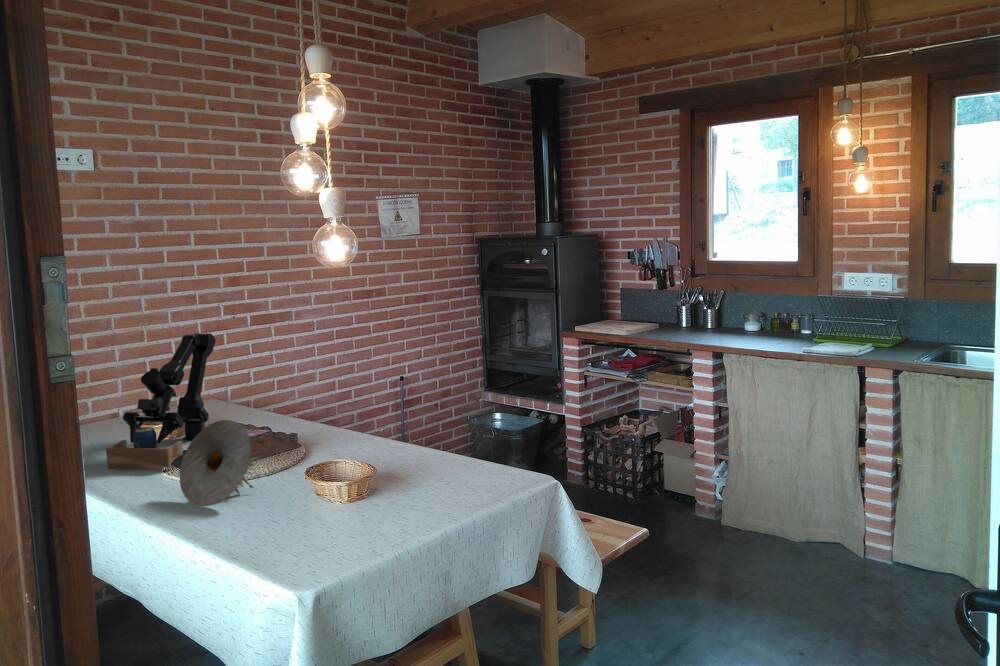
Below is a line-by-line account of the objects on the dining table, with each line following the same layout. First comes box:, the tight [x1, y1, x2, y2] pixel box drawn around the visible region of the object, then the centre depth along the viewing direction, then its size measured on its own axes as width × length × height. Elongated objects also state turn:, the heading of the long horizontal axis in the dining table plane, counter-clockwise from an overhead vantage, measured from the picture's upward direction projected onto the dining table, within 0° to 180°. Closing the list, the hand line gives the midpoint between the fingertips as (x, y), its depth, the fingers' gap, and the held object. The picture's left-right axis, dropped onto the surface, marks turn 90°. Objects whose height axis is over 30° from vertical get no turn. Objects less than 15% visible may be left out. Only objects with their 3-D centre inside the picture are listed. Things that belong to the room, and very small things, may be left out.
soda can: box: [132, 426, 158, 448], centre depth 259 cm, size 7×7×12 cm
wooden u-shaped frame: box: [105, 439, 184, 472], centre depth 259 cm, size 9×21×7 cm, turn 82°
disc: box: [179, 419, 265, 507], centre depth 232 cm, size 25×18×25 cm
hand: (144, 442), depth 259 cm, fingers open, 9 cm apart
